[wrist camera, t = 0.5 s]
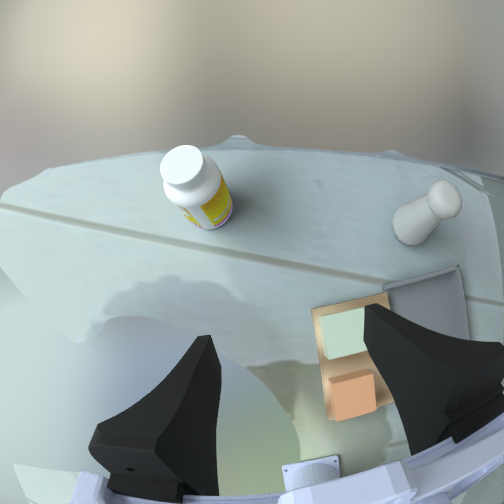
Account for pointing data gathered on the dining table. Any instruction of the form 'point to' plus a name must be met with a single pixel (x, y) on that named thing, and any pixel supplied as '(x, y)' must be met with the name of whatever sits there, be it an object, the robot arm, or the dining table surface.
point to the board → (350, 361)
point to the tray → (432, 301)
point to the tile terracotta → (352, 394)
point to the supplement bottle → (196, 187)
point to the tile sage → (342, 333)
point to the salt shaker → (426, 213)
